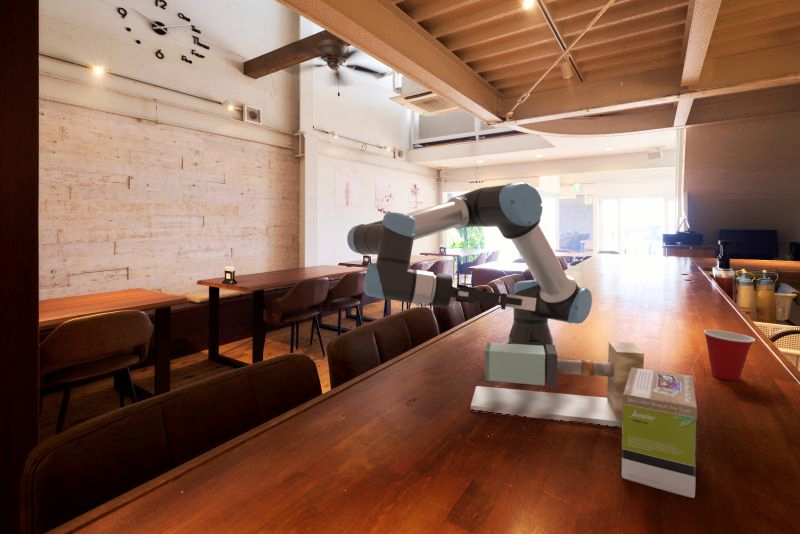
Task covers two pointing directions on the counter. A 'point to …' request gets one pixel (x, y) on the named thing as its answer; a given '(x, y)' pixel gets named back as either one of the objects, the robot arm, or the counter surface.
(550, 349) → the dark grey square plate
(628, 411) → the tea box
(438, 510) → the counter surface
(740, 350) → the plastic cup
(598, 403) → the pipe stand
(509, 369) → the sleeve
